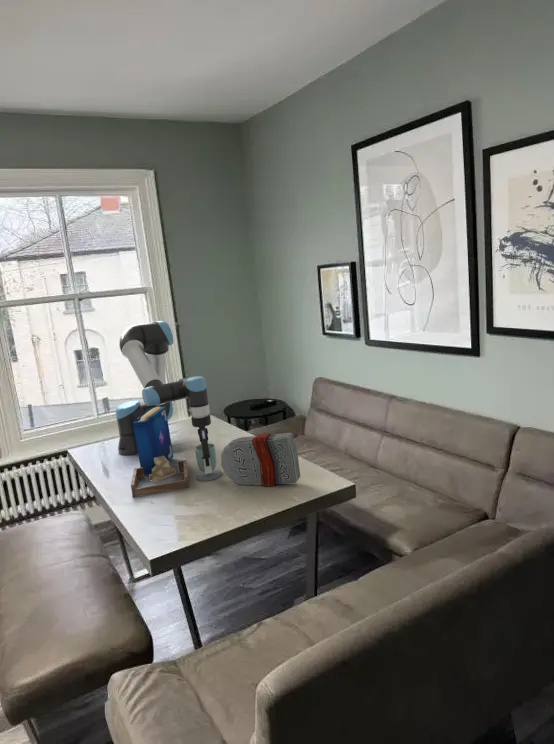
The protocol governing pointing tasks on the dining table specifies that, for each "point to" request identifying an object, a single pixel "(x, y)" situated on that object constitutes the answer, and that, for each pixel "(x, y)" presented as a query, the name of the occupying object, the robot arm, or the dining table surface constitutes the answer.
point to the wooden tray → (139, 475)
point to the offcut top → (161, 462)
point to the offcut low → (170, 472)
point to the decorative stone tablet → (261, 460)
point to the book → (152, 437)
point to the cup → (200, 454)
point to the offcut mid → (160, 470)
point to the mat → (208, 475)
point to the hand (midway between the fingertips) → (208, 469)
